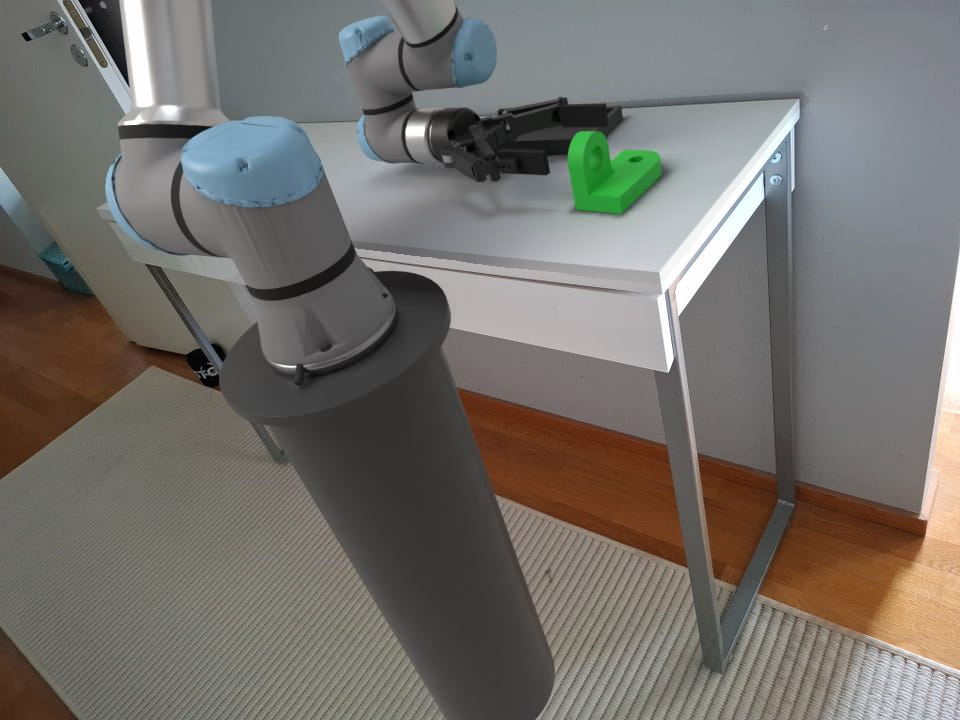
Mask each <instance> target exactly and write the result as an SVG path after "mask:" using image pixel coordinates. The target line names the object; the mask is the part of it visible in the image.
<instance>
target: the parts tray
mask: <svg viewBox="0 0 960 720" xmlns="http://www.w3.org/2000/svg"><path fill="white" fill-rule="evenodd" d="M606 109H607V116H608V123H609V125H608V126H607V127H562V124H561V125H557V126H553V127H549V128H546V129H542V130H538V131H535V132H531V133H527V134H523V135H520V136H518V138H517V140H515V141H512V142H508V143H504V144H501V145H499V146H498V147H497V148H496V149H494V150H493V151H494V153H495V156H498V154H497V151H499V150H500V149H524V150H546V153H547V155H549V154H568V152H569V147H570V144H571V141H572V139H573V138H574V136H575V135H576V134H577V133H578V132H581V131H599V132H601V133H603V134H604V135H605V137H607V136H608V135H609V134H610V133H611V132H612V131H613V130H614V129H615V128H616V127H617V126H618V125H619V124H620V123H621V122H622V121H623V120H624V116H623V107H622V105H610V106H606ZM510 134H511V131H510V129H509V130H507V136H509V135H510Z"/></svg>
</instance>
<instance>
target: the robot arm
mask: <svg viewBox="0 0 960 720" xmlns="http://www.w3.org/2000/svg"><path fill="white" fill-rule="evenodd" d="M118 2H119V11H120V18H121V27H122V35H123V43H124V44H123V45H124V51H125V60H126V61H125V62H126V66H127V68H126V69H127V76H128V77H127V78H128V85H129V93H130V101H131V102H130V103H131V106H130V109H129V110H128V112H127V113H126V114H125V115H124V116H123V117H122V118H121V119H120V120H119V121H118V122H117V129H118V139H119V147H120V153H119V154H118V155H117V157H116V158H115V160H113V163H112V164H111V165H110V166H109V168H108V170H107V174H106V177H105V188H104V189H105V190H104V191H105V197H106V198H105V199H106V202H107V205H108V208H109V210H110V213H111V215H112V217H113V218H114V220H115V222H116V223H117V225H118V226H119V227H120V228H121V230H122V231H123V232H124V233H125V234H127V236H129V237H130V238H131V239H132V240H134V241H136V242H137V243H138V244H140V245H142V246H144V247H146V248H149V249H151V250H155V251H160V252H161V253H165V254H169V255H173V256H179V257H184V256H199V257H212V258H225V259H231V260H232V262H233V264H234V265H235V267H236V269H237V271H238V273H239V275H240V276H241V278H242V280H243V283H244V285H246V287H247V290H248V291H249V294H250V295H251V297H252V299H253V302H254V309H255V316H256V322H258V328H259V334H260V339H261V341H260V342H261V348H262V352H263V354H264V356H265V358H266V360H267V362H268V363H269V365H270V367H271V368H272V370H274V371H275V372H276V373H277V374H280V375H282V376H285V377H289V378H295V379H294V384H295V385H298V386H302V385H303V382H304V378H313V377H319V376H324V375H327V374H331V373H334V372H337V371H340V370H342V369H345V368H347V367H349V366H351V365H354V364H355V363H357V362H359V361H361V360H363V359H364V358H366V357H367V356H369V355H370V354H372V353H373V352H374V351H376V350H377V349H378V348H379V347H380V346H382V345H383V344H384V343H385V342H386V341H387V339H388V338H389V337H390V336H391V334H392V333H393V331H394V330H395V328H396V326H397V323H398V317H399V315H398V310H397V307H396V305H395V302H394V300H393V297H392V295H391V294H390V293H389V291H388V290H387V289H386V288H385V287H384V286H383V284H382V283H381V282H380V281H379V280H378V279H377V277H376V276H375V275H377V274H376V273H375V272H376V271H375V270H374V269H373V268H372V267H369V266H368V265H366V263H364V261H363V260H362V259H361V258H360V257H359V255H358V252H357V251H356V248H355V246H354V243H353V241H352V238H351V235H350V233H349V230H348V228H347V226H346V222H345V221H344V220H345V219H344V218H343V215H342V212H341V210H340V207H339V205H338V202H337V199H336V197H335V195H334V192H333V190H332V187H331V184H330V182H329V179H328V176H327V175H326V171H325V169H324V165H323V163H322V159H321V157H320V156H319V154H318V153H317V151H316V150H315V148H314V146H313V144H312V142H311V140H310V138H309V136H308V134H307V132H306V130H305V129H303V128H302V126H301V125H299V124H298V123H297V122H296V121H293V120H291V119H289V118H286V117H282V116H276V115H275V116H273V115H258V116H248V117H246V118H244V119H241V120H238V119H234V120H230V119H229V118H228V117H227V116H226V115H225V113H223V111H222V106H221V105H222V104H221V96H220V94H221V93H220V84H219V74H218V73H219V72H218V63H217V52H216V51H217V50H216V42H215V41H216V40H215V39H216V38H215V31H214V30H215V28H214V19H213V8H212V7H213V6H212V0H118ZM379 3H380V4H381V5H382V7H383V9H384V10H385V12H386V13H387V15H388V16H389V18H390V19H391V21H390V19H389V18H388V17H387V16H385V15H377V16H372V17H368V18H365V19H361V20H359V21H355V22H353V23H351V24H349V25H347V26H345V27H343V28H342V29H341V30H340V32H339V34H338V41H339V46H340V48H341V52H342V56H343V59H344V66H345V67H346V69H347V72H348V74H349V77H350V80H351V82H352V85H353V87H354V90H355V94H356V96H357V99H358V101H359V104H360V106H361V107H360V108H361V110H362V115H361V117H360V118H359V120H358V123H357V126H356V130H357V136H356V140H357V144H358V146H359V148H360V149H359V150H361V152H362V153H363V154H364V156H366V157H367V158H368V159H370V160H373V161H375V162H381V163H382V162H383V163H387V164H391V165H393V164H420V165H421V164H422V165H436V166H437V167H442V166H443V165H444V167H445V169H453V170H456V171H458V172H460V173H461V174H463V175H465V176H466V177H468V178H470V179H471V180H473V181H475V182H477V183H484V182H485V181H486V180H487V176H489V177H490V180H491V182H492V183H496V182H499V181H500V180H502V177H501V174H508V175H509V174H510V175H511V174H512V175H529V176H548V175H549V174H551V169H550V165H549V158H548V154H547V153H546V150H524V149H500V150H499V151H497V154H498V155H495V153H494V151H493V150H494V149H496V148H497V147H498V146H499V145H501V144H504V143H508V142H512V141H515V140H517V138H518V136H520V135H523V134H527V133H531V132H535V131H538V130H542V129H546V128H549V127H553V126H557V125H561V124H562V127H607V126H608V125H609V123H608V116H607V109H606V107H607V103H573V104H572V103H570V104H569V100H568V97H564V96H558V97H557V98H556V99H550V100H545V101H540V102H535V103H529V104H525V105H519V106H515V107H505V108H502V107H501V108H499V109H498V110H496V113H497V115H495V116H492V115H488V116H485V117H482V118H481V116H480V115H478V114H477V113H476V112H475V110H473V109H471V108H469V107H467V106H466V107H465V106H464V107H461V106H460V107H422V108H417V107H416V103H415V100H414V95H413V93H414V92H415V93H416V92H422V91H423V92H424V91H433V90H443V89H445V90H446V89H454V88H455V89H456V88H457V89H462V88H466V87H472V86H476V85H480V84H483V83H485V82H487V81H488V80H490V78H491V77H492V76H493V72H494V70H495V69H496V66H497V61H498V47H497V41H496V38H495V35H494V32H493V30H492V28H491V26H490V25H489V24H487V23H485V22H484V20H482V19H480V18H471V17H467V18H465V19H464V17H463V16H462V14H461V12H460V11H459V9H458V7H457V5H456V3H455V2H454V0H379ZM391 22H392V23H393V25H394V26H395V27H396V29H397V31H395V28H394V26H393V25H392V23H391ZM509 129H510V131H511V134H510V135H509V136H507V130H509ZM374 274H375V275H374Z"/></svg>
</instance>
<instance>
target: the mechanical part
mask: <svg viewBox="0 0 960 720" xmlns="http://www.w3.org/2000/svg"><path fill="white" fill-rule="evenodd" d="M606 137H607V136H606ZM606 137H605V135H604V134H603V133H601V132H599V131H581V132H578V133H577V134H576V135H575V136H574V138H573V139H572V141H571V144H570V147H569V152H568V153H567V166H568V172H569V178H570V184H571V188H572V189H571V190H572V194H573V201H574V207H575V210H577V211H588V212H598V213H609V214H619V215H622V214H624V212H625V211H627V210H628V209H629V207H631V206H632V204H634V203H635V202H636V201H637V200H638V199H639V198H640V197H641V196H642V195H643V194H644V193H645V192H646V191H647V190H648V189H649V188H651V186H652V185H653V184H654V183H656V181H658V179H659V178H660V177H661V176H662V174H663V170H662V161H661V160H662V159H661V154H660V153H659V152H657V151H654V150H651V149H649V150H647V149H623V150H622V151H620V152H619V153H618V154H617V155H616V156H615V157H614V158H613V159H611V155H610V146H609V142H608V138H606Z"/></svg>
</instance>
